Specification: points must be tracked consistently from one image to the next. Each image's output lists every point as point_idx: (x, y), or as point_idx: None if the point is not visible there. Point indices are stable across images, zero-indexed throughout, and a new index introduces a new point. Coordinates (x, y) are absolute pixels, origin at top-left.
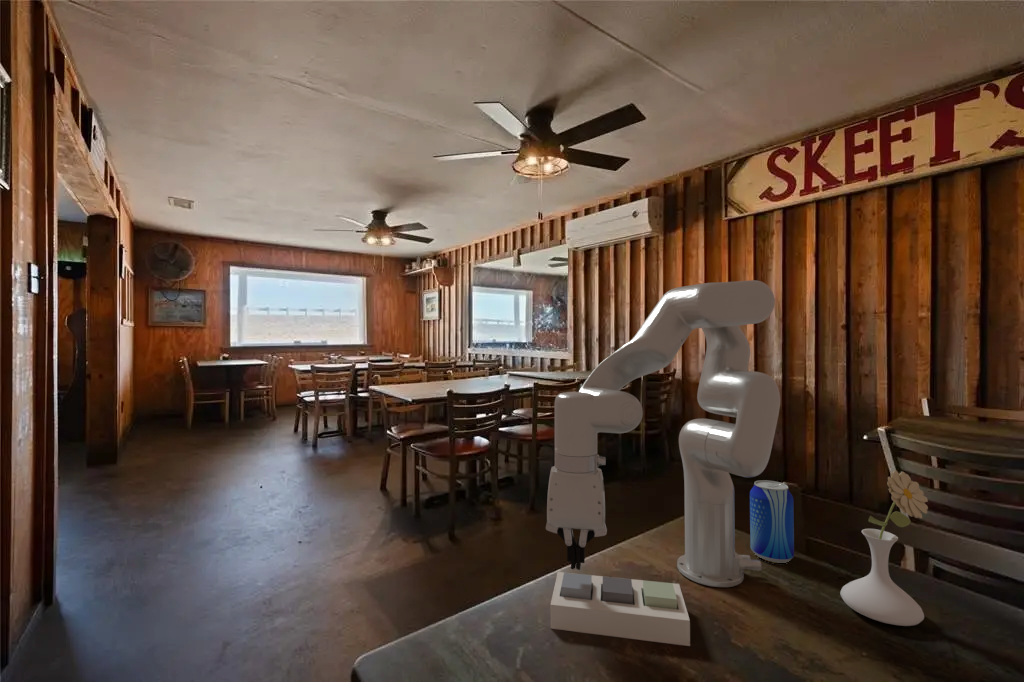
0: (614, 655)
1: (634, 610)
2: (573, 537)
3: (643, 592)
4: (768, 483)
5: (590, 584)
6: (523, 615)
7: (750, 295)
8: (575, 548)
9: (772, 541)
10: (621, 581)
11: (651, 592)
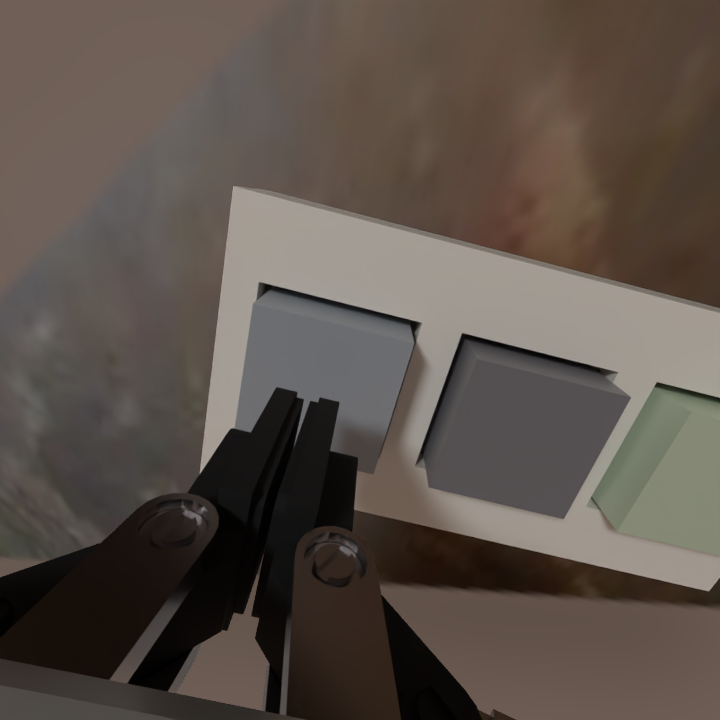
0: (409, 536)
1: (531, 529)
2: (213, 577)
3: (645, 413)
4: None
5: (384, 431)
6: (133, 348)
7: None
8: (261, 542)
9: None
10: (563, 415)
11: (664, 510)
